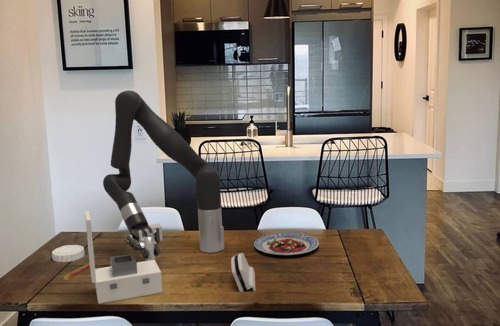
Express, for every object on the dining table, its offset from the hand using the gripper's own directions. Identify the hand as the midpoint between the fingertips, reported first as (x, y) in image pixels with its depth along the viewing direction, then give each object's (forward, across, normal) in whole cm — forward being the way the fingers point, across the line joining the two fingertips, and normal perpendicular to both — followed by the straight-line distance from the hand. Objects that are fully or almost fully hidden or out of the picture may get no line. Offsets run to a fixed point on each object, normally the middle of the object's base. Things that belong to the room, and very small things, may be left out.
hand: (152, 256), depth 182 cm
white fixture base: (+11, -16, -4) cm, 19 cm away
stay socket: (+6, -16, -8) cm, 19 cm away
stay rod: (+2, 0, +5) cm, 5 cm away
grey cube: (-18, +18, +25) cm, 36 cm away
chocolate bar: (-8, -21, +16) cm, 28 cm away
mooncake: (-22, -17, +30) cm, 40 cm away
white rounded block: (+26, +16, -18) cm, 36 cm away
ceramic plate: (+17, +50, -9) cm, 54 cm away
